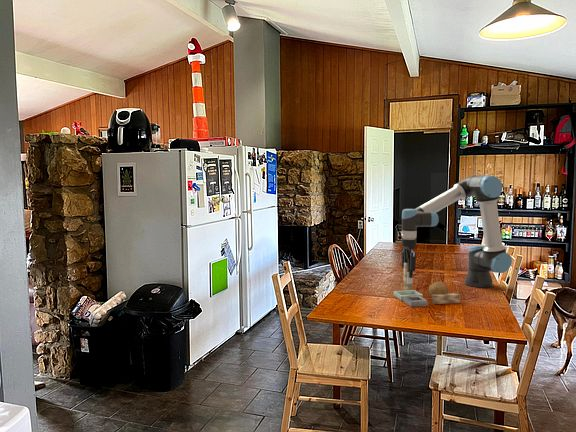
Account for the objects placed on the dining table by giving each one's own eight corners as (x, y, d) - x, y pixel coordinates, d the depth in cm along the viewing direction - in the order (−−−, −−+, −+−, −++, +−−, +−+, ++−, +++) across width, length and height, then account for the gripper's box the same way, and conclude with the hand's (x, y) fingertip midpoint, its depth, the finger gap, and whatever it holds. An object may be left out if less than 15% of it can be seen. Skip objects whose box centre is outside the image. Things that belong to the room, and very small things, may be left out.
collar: (419, 300, 234) (419, 295, 234) (427, 305, 226) (427, 300, 225) (403, 301, 233) (403, 296, 233) (410, 306, 224) (410, 301, 224)
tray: (414, 294, 246) (414, 290, 246) (422, 299, 236) (422, 294, 236) (393, 295, 244) (393, 291, 244) (401, 300, 234) (401, 296, 234)
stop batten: (456, 300, 234) (457, 293, 233) (460, 302, 231) (460, 294, 230) (431, 302, 231) (431, 294, 231) (434, 304, 228) (434, 296, 228)
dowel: (409, 288, 242) (410, 262, 241) (412, 290, 238) (413, 263, 237) (402, 288, 241) (402, 262, 240) (405, 290, 238) (405, 264, 236)
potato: (426, 301, 234) (427, 285, 233) (430, 294, 247) (430, 279, 246) (446, 303, 230) (447, 287, 229) (449, 296, 243) (449, 281, 242)
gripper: (395, 236, 245) (394, 279, 247) (409, 241, 228) (408, 286, 230) (408, 236, 246) (407, 278, 248) (423, 240, 229) (422, 286, 232)
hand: (407, 282), depth 239 cm, fingers closed on dowel, 4 cm apart
